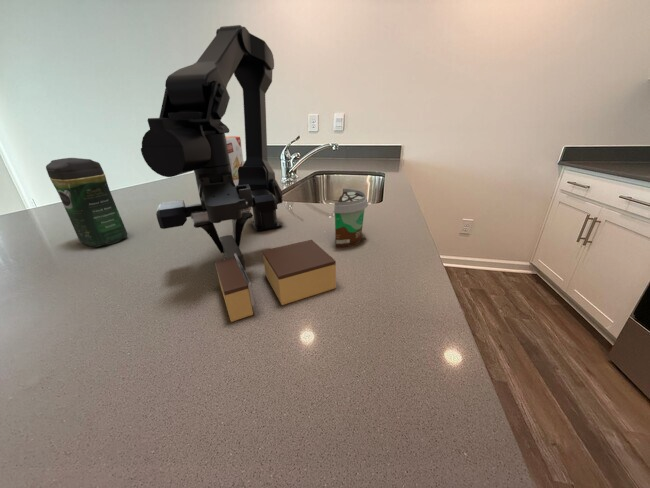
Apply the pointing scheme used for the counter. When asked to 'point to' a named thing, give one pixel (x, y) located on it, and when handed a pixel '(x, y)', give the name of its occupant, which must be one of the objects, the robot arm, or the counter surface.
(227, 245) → the knife
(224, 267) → the cake slice
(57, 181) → the coffee jar
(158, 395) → the counter surface
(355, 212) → the food container
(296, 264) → the cake
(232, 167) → the cracker box
